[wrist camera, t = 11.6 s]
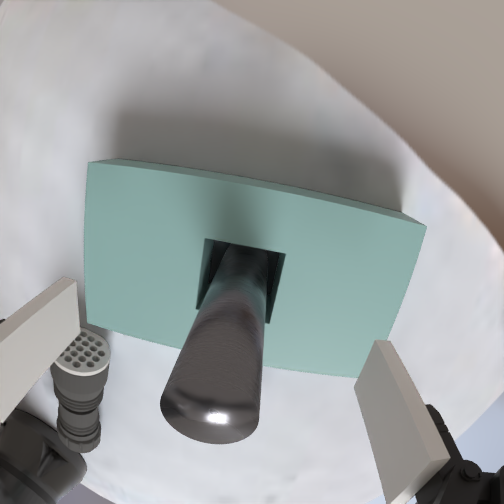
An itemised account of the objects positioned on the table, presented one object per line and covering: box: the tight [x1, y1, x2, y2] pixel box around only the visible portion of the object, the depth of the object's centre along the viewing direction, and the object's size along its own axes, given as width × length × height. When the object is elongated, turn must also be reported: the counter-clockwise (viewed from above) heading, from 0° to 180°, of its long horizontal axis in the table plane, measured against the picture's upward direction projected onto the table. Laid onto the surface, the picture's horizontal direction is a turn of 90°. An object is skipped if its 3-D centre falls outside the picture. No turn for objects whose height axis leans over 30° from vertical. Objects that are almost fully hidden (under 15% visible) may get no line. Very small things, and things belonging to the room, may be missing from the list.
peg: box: [160, 243, 268, 444], centre depth 15 cm, size 3×3×14 cm
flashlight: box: [50, 327, 111, 453], centre depth 25 cm, size 15×5×5 cm, turn 159°
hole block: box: [84, 159, 427, 378], centre depth 20 cm, size 20×11×4 cm, turn 80°
